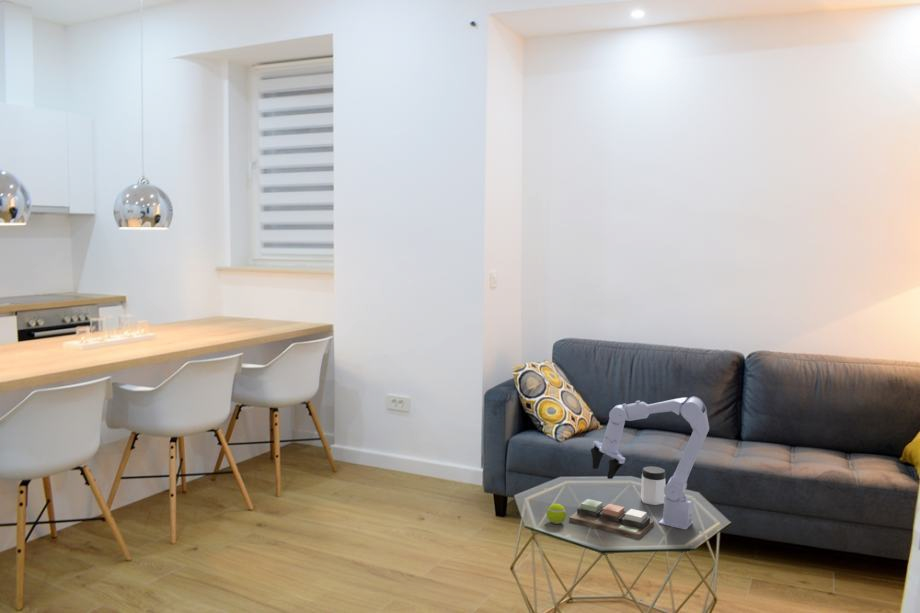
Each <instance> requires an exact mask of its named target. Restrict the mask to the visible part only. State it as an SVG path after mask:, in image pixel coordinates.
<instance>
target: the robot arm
mask: <svg viewBox="0 0 920 613" xmlns="http://www.w3.org/2000/svg"><path fill="white" fill-rule="evenodd" d="M667 412H672V413H675V414H676V415H677V416H680V415H681V417H682V418H683V419H684V420H685V421H686V422H688V424H689V425H690V427H691V429H692V432H691V435H690V437H689V439H688V441H687V444H686V446H685V449H684V450H683V453H682V454H681V457H680V460H679V462H678V464H677V467H676V469H675V471H674V473H673V475H672V476H670V478H669V479H668V482H667V484H665V487H664V494H665V495H664V504H663V510H662V511H663V512H662V513H663V514H662V518H661V519H660V521H658V524H659V525H665V526H669V527H672V528H675V529H680V530H681V529H682V530H688V528H689V527H690V526H691V525H692V524H693V523H694V521H693V513H694V503H693V501H691V500H688V499H687V496H686V495H685V491H686V490H687V487H688V483H687V482H688V478H689V476H690V473H691V471H692V469H693V466H694V464H695V462H696V459H697V458H698V456H699V453H700V451H701V449H702V446H703V444H704V442H705V439H706V437H707V435H708V432H710V425H709V424H710V423H709V418H708V413H707V407H706V405H705V403H704V402H703V400H702V399H701V398H699V397H697V396H690V397H689V398H688V397H678V398H673V399H669V400H664V401H659V402H655V403H649V404H648V403H647V402H645V401H641V400H635V402H633V403H628V404H627V403H626V402H625V403H622V404H617V405H615V406H614V407H613V408H612V409H610V411H609V413H608V418H609V419H608V423H607V425H606V428H605V432H604V436H603V440H602V442H600V441H598V440H592V444H591V446H592V448H590V453H591V457H592V469H594V470H596V469H597V470H598V469H599V467H600V464H601V461H602V458H603V456H604V454H606V455H607V456H609V457H610V458H612V459H609V460H608V464H609V466H608V473H607V477H606V478H607V479H608V480H612V479H613V478H614V476H615V475H616V473H617V472H618V470H619V469H620V468H621V467H622V466H623V465H624V464H625V462H626V458H625V457H624V456H623V455H622V454H621V453H620V452H618V450H619V446H620V442H621V440H622V436H623V431H624V426H625V423H626V421H629V422H631V421H637V420H643V419H648V417H649V415H651V414H658V413H660V414H661V413H667Z"/></svg>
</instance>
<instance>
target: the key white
mask: <svg viewBox="0 0 920 613" xmlns="http://www.w3.org/2000/svg"><path fill="white" fill-rule="evenodd" d="M647 514H648V513H647V511H643V510H639V509H635V508H630V509H629V510H627V513H625V519H627V520H631V521H635V522H640V523H642V522H643V521H644V520H645V519H646V518H647V516H648V515H647Z"/></svg>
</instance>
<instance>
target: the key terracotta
mask: <svg viewBox="0 0 920 613" xmlns="http://www.w3.org/2000/svg"><path fill="white" fill-rule="evenodd" d="M624 511H625V507H624V506H621V505H617V504H612V503H608V504H606V505H605V507H604V508H603V514H606V515H610V516H614V517H620V516H621V515H622V514H623V513H624Z"/></svg>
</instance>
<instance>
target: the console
mask: <svg viewBox="0 0 920 613" xmlns="http://www.w3.org/2000/svg"><path fill="white" fill-rule="evenodd" d="M605 506H606V505H605ZM605 506H604V505H602V508H601V509H600V510H599V511H597V512H593V511H589V510H585V509H581V505H580V506H579V507H577V510H576V511H575V512H574V513H573V514H572V515H570V516H569V517H568V522H571V523H574V524H578V525H582V526H587V527H590V528H594V529H597V530H603V531H606V532H609V533H613V534H619V535H621V536H626V535H627V536H626V537H630V538H635V539H639V540H640V539H641V538H642V537H644V535H645V534H647V533H648V532H649V530H650V529H651V528H652V527H654V525H655V521H654V520H652V519H651V517H650V516H649V515H647V518H646V519H645V520H644V521H643V522H642V523H640V522H635V521H631V520H627V519H625V513H627V512H628V510H627V511H626V510H624V513H623V514H622V515H621V516H620V517H614V516H610V515H606V514H603V508H604V507H605Z"/></svg>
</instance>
